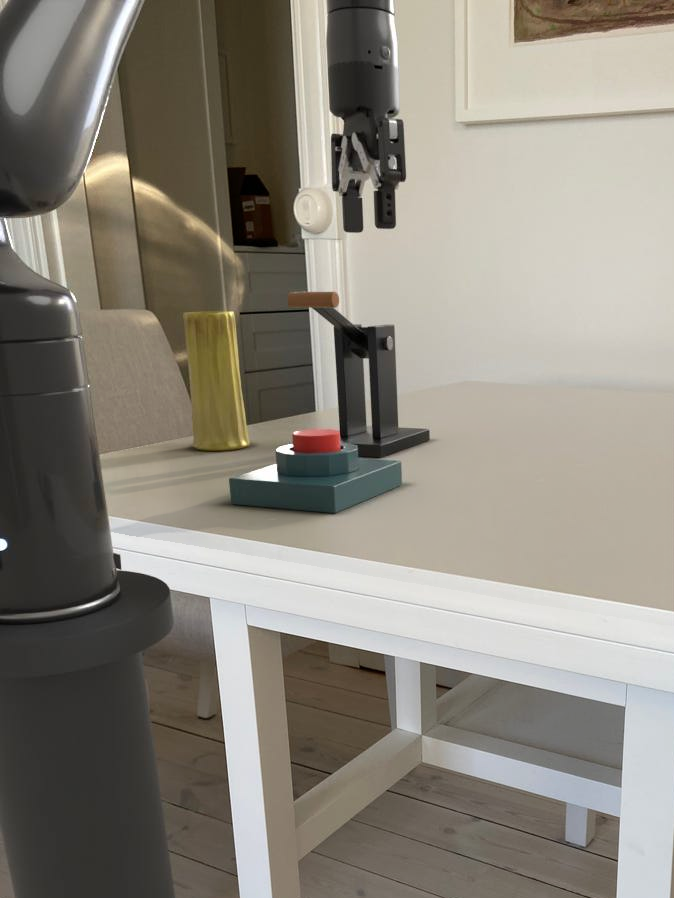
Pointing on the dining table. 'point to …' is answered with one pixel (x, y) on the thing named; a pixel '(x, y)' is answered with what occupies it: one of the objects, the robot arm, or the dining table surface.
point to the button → (316, 440)
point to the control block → (316, 480)
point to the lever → (332, 317)
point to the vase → (215, 381)
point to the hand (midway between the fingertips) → (369, 230)
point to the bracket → (383, 392)
